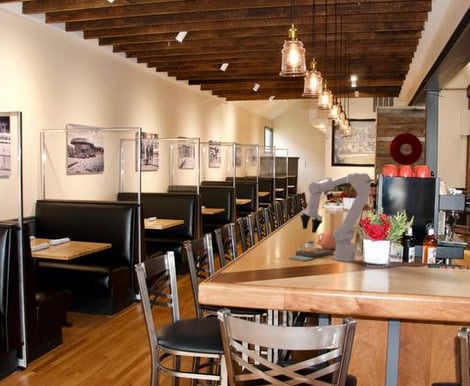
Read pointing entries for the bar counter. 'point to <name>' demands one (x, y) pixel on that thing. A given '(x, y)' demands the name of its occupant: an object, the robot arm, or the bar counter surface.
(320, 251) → the grey lever panel
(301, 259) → the mat
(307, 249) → the plug
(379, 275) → the bar counter surface
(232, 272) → the bar counter surface
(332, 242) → the sugar bowl
